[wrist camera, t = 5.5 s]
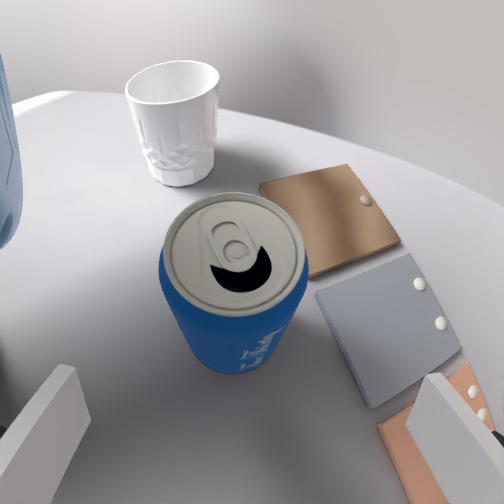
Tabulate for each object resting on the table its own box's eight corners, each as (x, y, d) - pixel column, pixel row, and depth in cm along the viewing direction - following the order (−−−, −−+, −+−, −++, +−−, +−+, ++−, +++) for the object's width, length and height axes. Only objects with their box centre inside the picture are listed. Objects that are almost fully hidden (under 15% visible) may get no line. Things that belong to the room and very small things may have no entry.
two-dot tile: (369, 409, 20) (374, 408, 19) (314, 295, 25) (317, 290, 24) (456, 350, 22) (463, 347, 22) (405, 257, 27) (410, 252, 26)
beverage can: (209, 389, 20) (185, 354, 10) (175, 310, 23) (135, 212, 13) (291, 353, 22) (345, 284, 12) (253, 280, 25) (270, 169, 15)
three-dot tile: (416, 520, 15) (423, 522, 14) (376, 425, 19) (382, 425, 19) (496, 450, 17) (503, 450, 16) (463, 365, 22) (470, 362, 21)
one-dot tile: (306, 279, 25) (308, 273, 24) (258, 189, 30) (259, 182, 29) (397, 244, 28) (401, 238, 27) (345, 169, 32) (347, 162, 31)
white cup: (129, 171, 30) (106, 90, 22) (180, 131, 34) (172, 54, 25) (184, 205, 28) (170, 115, 20) (235, 157, 32) (238, 73, 23)
